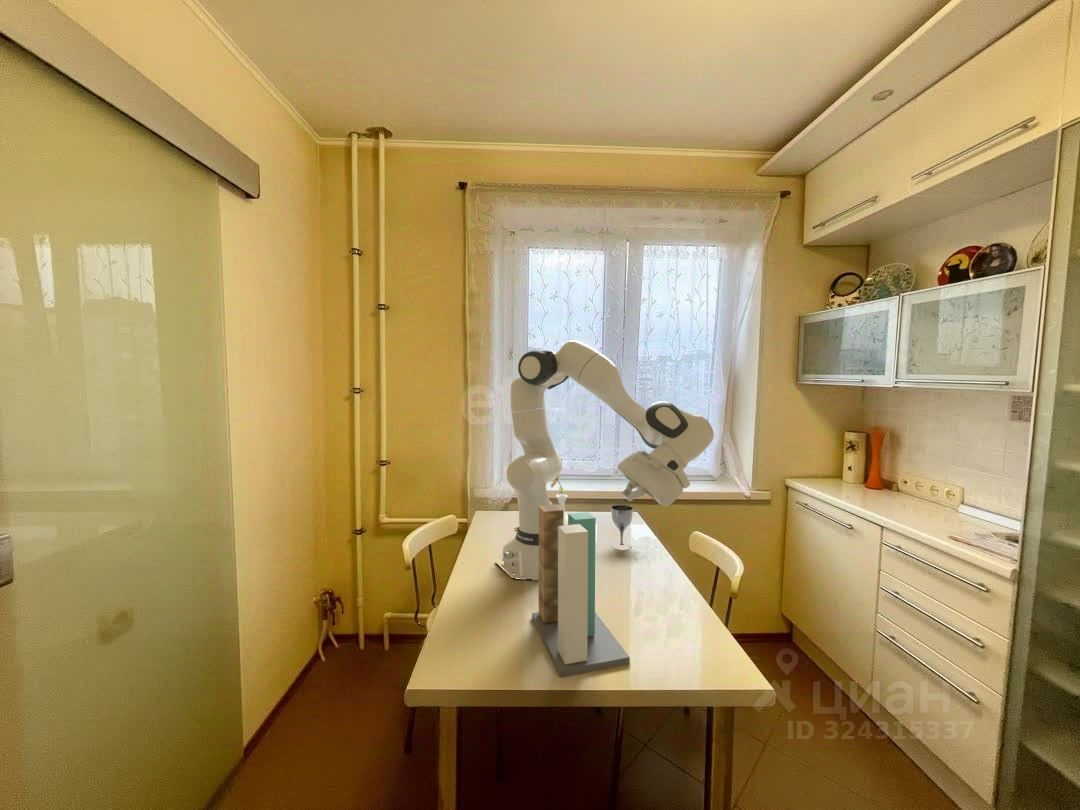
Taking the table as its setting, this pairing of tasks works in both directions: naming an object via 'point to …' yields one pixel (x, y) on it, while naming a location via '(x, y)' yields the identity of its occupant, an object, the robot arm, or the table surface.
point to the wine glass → (621, 517)
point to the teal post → (589, 524)
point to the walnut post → (549, 561)
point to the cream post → (572, 593)
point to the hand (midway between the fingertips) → (625, 497)
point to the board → (599, 648)
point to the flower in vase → (561, 498)
